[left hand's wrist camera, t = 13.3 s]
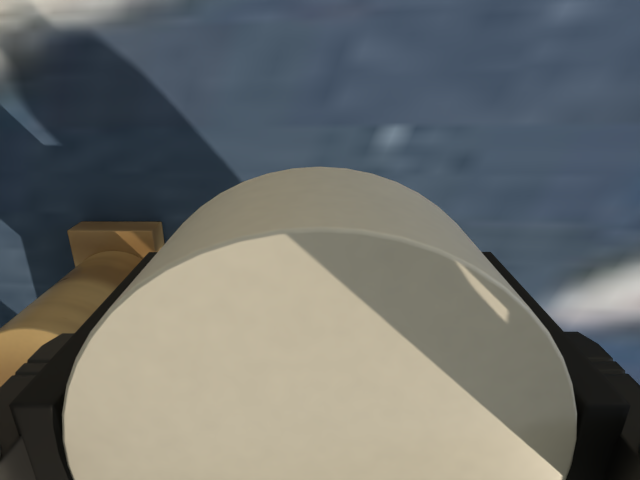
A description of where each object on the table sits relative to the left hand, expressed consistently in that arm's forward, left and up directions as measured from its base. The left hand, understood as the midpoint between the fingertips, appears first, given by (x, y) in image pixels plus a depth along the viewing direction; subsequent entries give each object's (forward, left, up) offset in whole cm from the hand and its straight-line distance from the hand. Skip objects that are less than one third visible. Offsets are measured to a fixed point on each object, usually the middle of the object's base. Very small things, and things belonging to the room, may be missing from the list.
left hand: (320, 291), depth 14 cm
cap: (0, 0, +3) cm, 3 cm away
